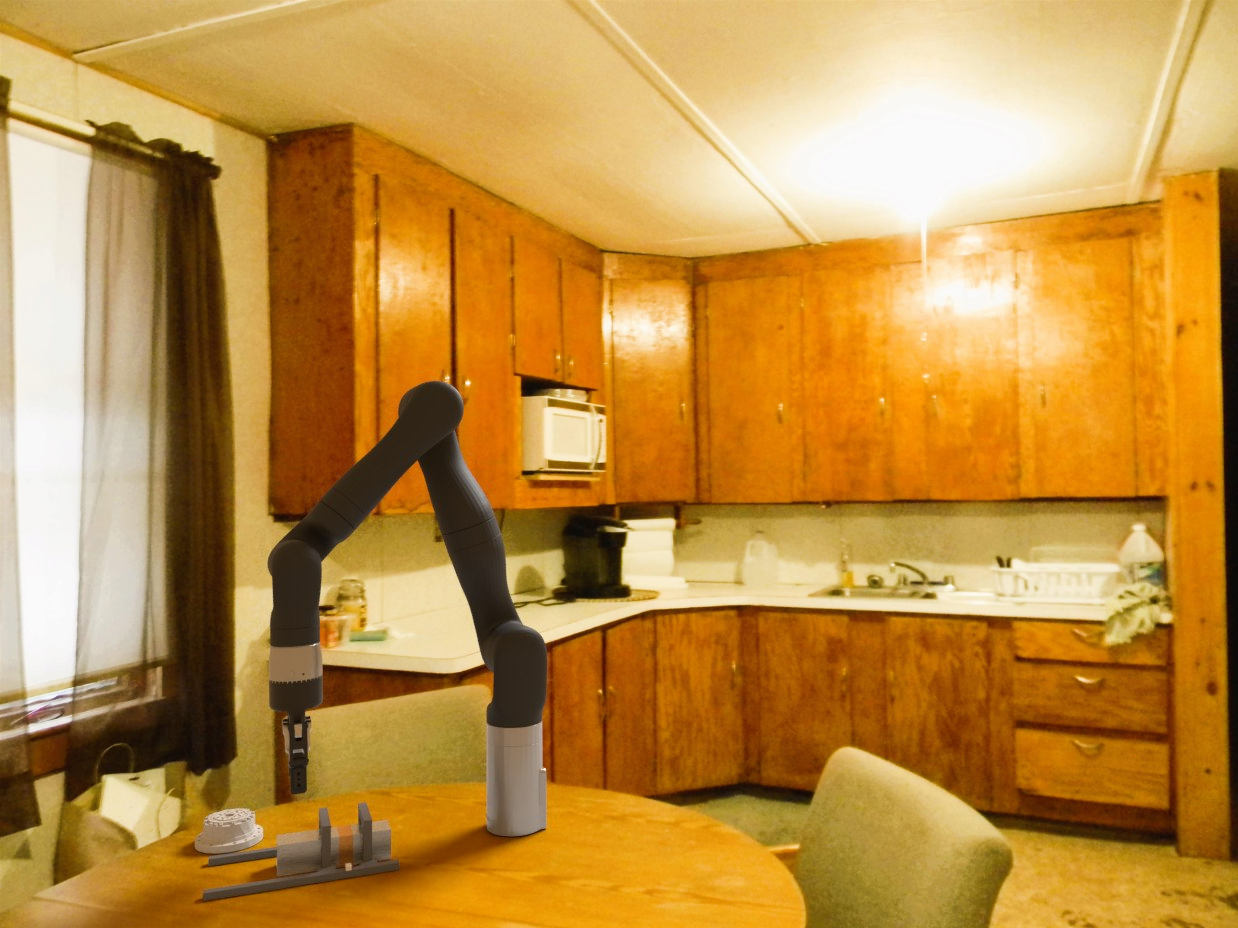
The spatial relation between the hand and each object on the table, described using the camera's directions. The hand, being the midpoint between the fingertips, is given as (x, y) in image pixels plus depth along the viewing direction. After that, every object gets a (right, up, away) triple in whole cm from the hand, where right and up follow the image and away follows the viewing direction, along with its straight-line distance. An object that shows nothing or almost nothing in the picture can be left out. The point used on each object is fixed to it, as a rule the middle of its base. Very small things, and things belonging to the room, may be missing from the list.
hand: (297, 784), depth 130 cm
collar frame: (+1, -12, 0) cm, 12 cm away
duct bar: (+5, -12, +1) cm, 13 cm away
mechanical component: (-14, -13, +10) cm, 22 cm away
